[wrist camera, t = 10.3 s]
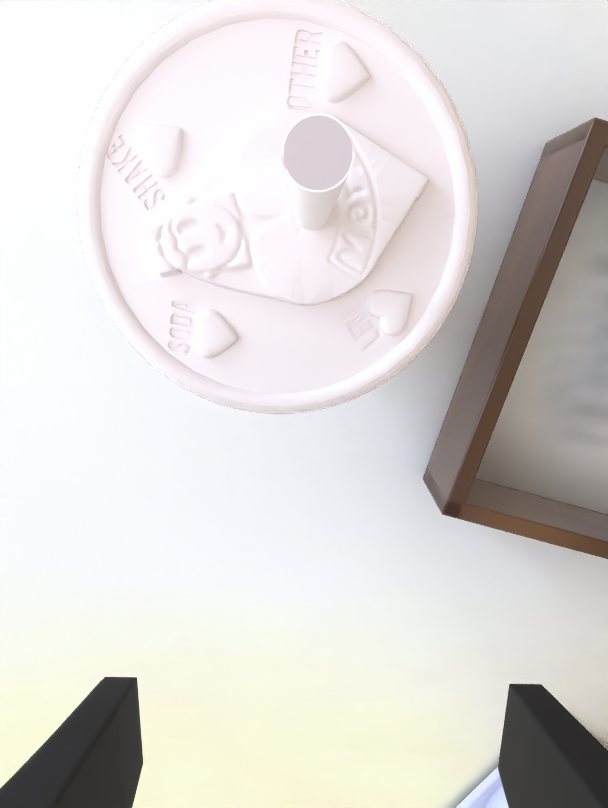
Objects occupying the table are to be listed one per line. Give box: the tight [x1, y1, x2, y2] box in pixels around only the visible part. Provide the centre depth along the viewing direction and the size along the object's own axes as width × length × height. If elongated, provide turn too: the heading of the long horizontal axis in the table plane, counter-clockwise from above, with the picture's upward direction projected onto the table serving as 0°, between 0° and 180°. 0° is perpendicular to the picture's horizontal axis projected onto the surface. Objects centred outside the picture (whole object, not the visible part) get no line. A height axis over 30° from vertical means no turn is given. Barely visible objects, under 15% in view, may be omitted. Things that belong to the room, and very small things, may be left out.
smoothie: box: [77, 0, 478, 414], centre depth 11 cm, size 6×6×14 cm
